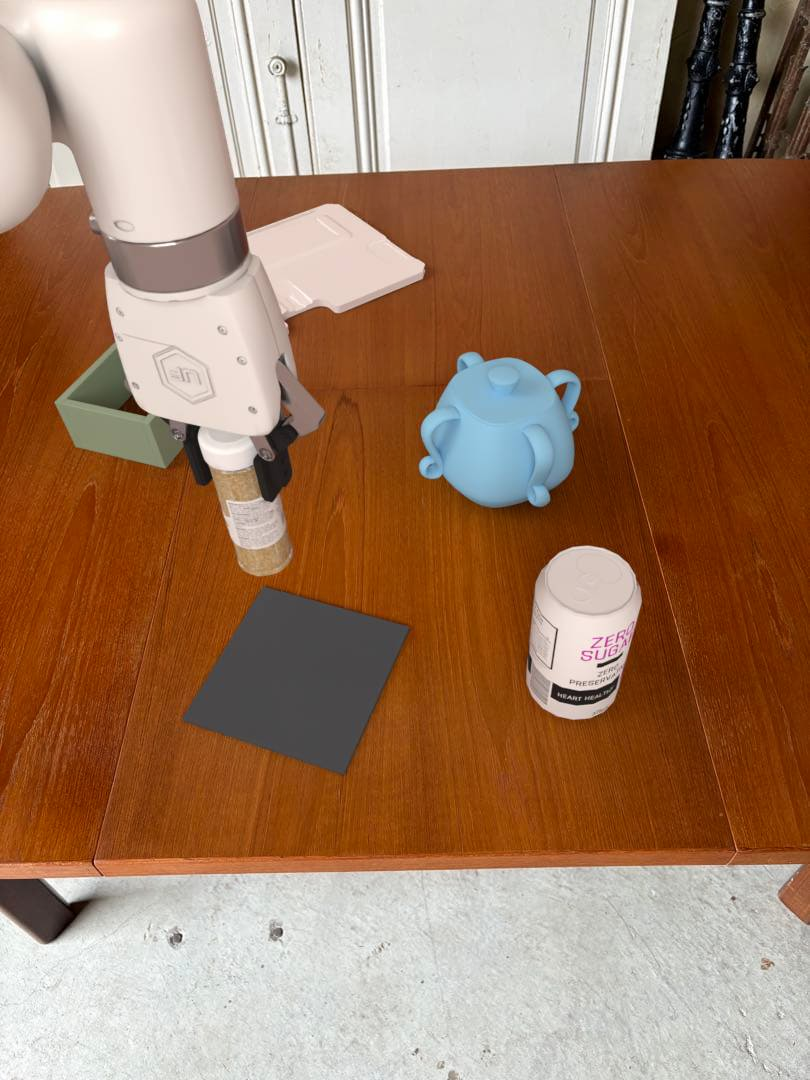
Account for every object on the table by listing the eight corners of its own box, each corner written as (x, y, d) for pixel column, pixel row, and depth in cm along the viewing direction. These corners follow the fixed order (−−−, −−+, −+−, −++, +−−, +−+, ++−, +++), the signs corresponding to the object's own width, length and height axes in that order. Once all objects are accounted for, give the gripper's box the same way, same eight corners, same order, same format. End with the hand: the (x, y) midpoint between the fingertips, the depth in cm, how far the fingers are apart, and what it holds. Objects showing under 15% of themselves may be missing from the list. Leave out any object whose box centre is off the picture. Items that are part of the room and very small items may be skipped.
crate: (75, 447, 100) (54, 402, 94) (134, 384, 108) (117, 339, 102) (166, 469, 96) (148, 423, 91) (220, 402, 104) (207, 356, 99)
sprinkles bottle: (242, 536, 66) (202, 407, 56) (297, 534, 66) (267, 404, 56) (234, 580, 63) (190, 451, 53) (292, 578, 63) (259, 449, 53)
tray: (431, 275, 121) (430, 265, 120) (265, 344, 112) (263, 334, 111) (335, 207, 137) (334, 198, 136) (183, 263, 128) (180, 254, 127)
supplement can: (552, 632, 78) (567, 525, 66) (632, 673, 74) (662, 568, 63) (508, 693, 73) (516, 591, 62) (591, 740, 70) (615, 640, 59)
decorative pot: (402, 493, 91) (394, 397, 81) (465, 409, 100) (465, 314, 90) (538, 541, 86) (548, 444, 75) (591, 447, 94) (607, 349, 84)
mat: (182, 720, 73) (181, 718, 73) (263, 588, 83) (263, 586, 83) (344, 775, 69) (344, 773, 69) (410, 629, 79) (409, 626, 79)
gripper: (10, 255, 45) (115, 491, 58) (286, 301, 40) (330, 545, 54) (89, 193, 49) (170, 425, 63) (345, 228, 45) (373, 470, 58)
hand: (244, 478), depth 58 cm, fingers closed on sprinkles bottle, 4 cm apart
